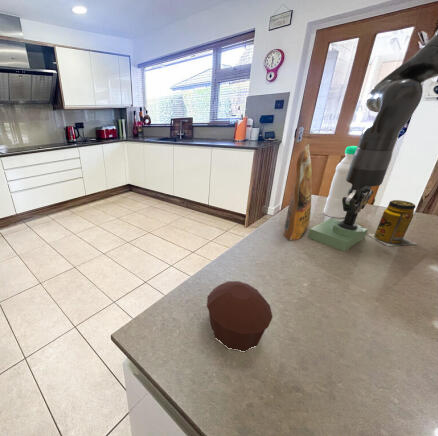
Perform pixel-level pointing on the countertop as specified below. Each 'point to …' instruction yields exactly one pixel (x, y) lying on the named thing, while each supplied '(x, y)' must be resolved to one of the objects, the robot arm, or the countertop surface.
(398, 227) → the condiment
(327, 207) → the water bottle
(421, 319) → the countertop surface
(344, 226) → the pump top
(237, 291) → the muffin
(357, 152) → the robot arm
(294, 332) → the countertop surface
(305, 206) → the pancake mix bag
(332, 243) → the dispenser base
